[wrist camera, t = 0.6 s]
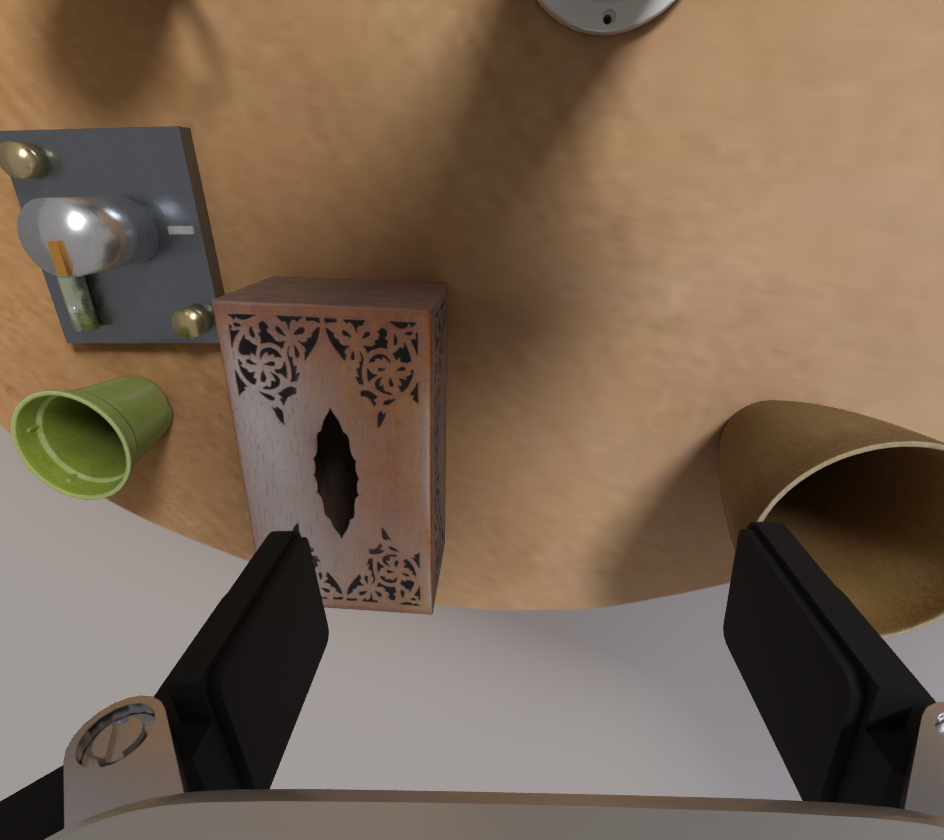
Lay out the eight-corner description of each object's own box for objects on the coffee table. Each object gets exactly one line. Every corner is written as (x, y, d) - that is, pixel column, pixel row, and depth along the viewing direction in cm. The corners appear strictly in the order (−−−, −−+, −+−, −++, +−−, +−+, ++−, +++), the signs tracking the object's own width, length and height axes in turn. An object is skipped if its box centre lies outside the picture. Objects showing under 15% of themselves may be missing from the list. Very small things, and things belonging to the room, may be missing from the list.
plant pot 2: (846, 333, 42) (1025, 412, 28) (854, 487, 48) (1007, 619, 33) (658, 385, 45) (731, 481, 30) (687, 524, 50) (760, 662, 36)
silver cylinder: (85, 196, 40) (0, 198, 33) (148, 195, 40) (74, 197, 33) (105, 264, 42) (28, 279, 35) (165, 263, 42) (99, 278, 35)
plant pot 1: (80, 420, 50) (-1, 464, 42) (104, 338, 46) (21, 369, 38) (173, 467, 51) (112, 518, 43) (204, 391, 48) (144, 431, 40)
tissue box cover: (274, 276, 43) (212, 300, 34) (447, 283, 43) (431, 309, 34) (305, 532, 54) (264, 603, 45) (445, 541, 53) (432, 614, 44)
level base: (12, 133, 40) (-30, 128, 37) (190, 128, 39) (162, 123, 36) (80, 338, 46) (49, 349, 43) (233, 338, 45) (213, 349, 42)
